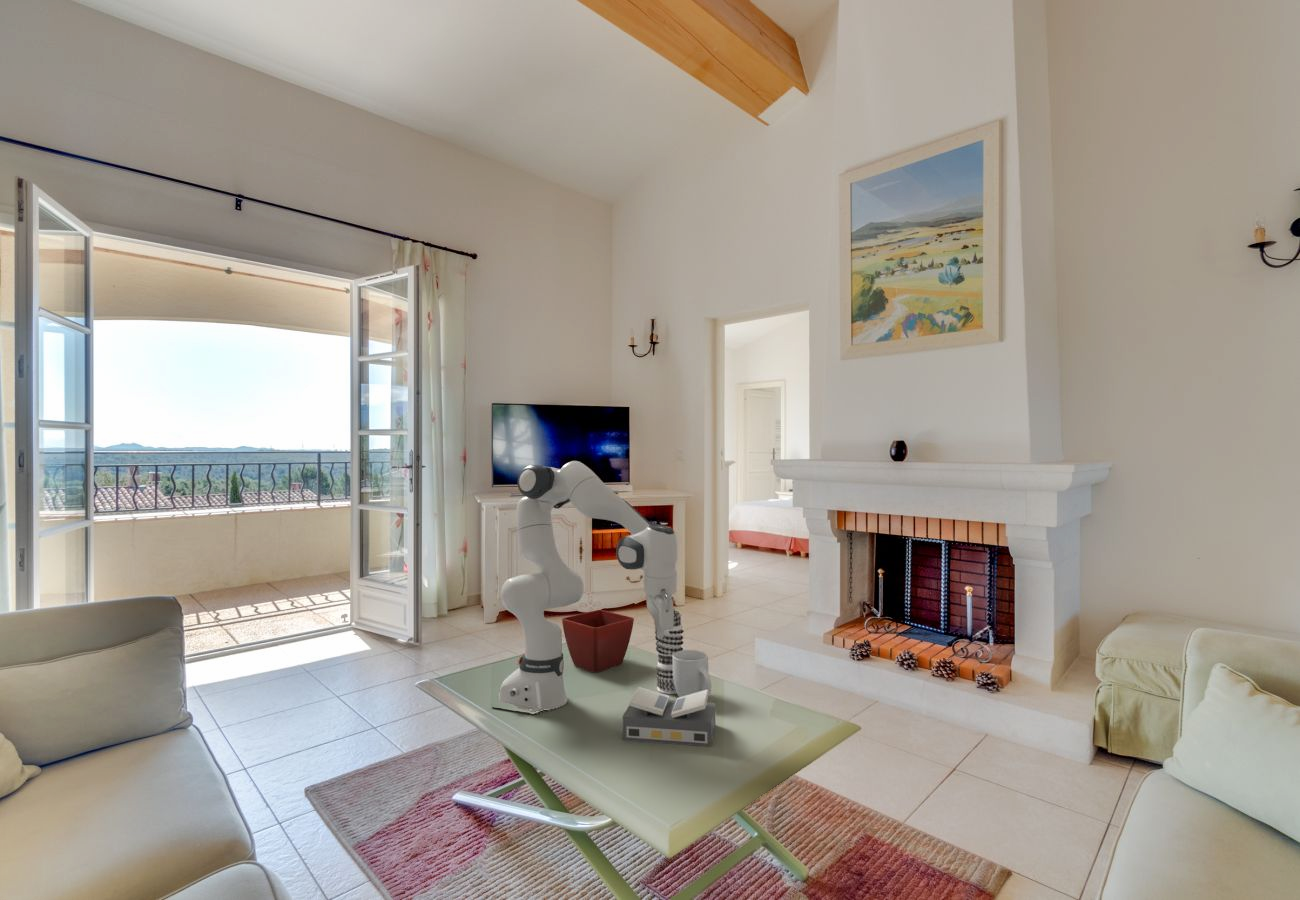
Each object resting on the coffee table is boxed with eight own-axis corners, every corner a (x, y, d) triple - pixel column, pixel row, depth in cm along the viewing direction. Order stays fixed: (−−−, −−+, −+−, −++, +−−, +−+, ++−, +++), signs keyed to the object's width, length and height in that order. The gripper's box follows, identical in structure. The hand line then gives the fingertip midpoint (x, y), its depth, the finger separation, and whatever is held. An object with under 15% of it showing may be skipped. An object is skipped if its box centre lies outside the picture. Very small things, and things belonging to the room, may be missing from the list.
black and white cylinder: (686, 684, 195) (684, 607, 196) (682, 695, 186) (681, 613, 187) (658, 683, 196) (657, 606, 197) (653, 693, 187) (652, 612, 188)
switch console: (622, 740, 155) (622, 711, 156) (633, 719, 168) (633, 693, 169) (711, 747, 151) (711, 717, 151) (715, 724, 164) (715, 698, 164)
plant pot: (635, 664, 216) (635, 617, 216) (595, 678, 202) (595, 627, 202) (600, 653, 229) (600, 609, 229) (560, 665, 215) (560, 618, 215)
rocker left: (629, 705, 157) (629, 701, 157) (637, 690, 167) (638, 686, 167) (662, 715, 155) (663, 711, 155) (668, 699, 166) (669, 695, 166)
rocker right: (672, 718, 154) (670, 714, 154) (678, 701, 165) (677, 697, 165) (705, 708, 153) (703, 704, 153) (709, 692, 164) (707, 689, 164)
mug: (724, 703, 179) (723, 659, 179) (695, 712, 173) (694, 666, 173) (693, 688, 191) (693, 647, 192) (665, 696, 185) (665, 653, 185)
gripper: (680, 594, 152) (679, 649, 152) (664, 577, 172) (663, 625, 172) (655, 595, 151) (654, 650, 151) (642, 577, 171) (641, 626, 171)
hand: (659, 636), depth 162 cm, fingers closed
